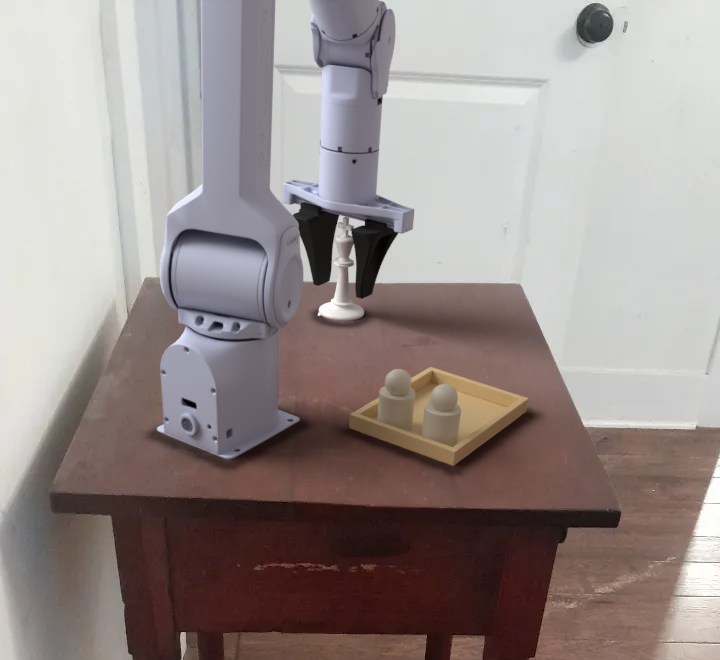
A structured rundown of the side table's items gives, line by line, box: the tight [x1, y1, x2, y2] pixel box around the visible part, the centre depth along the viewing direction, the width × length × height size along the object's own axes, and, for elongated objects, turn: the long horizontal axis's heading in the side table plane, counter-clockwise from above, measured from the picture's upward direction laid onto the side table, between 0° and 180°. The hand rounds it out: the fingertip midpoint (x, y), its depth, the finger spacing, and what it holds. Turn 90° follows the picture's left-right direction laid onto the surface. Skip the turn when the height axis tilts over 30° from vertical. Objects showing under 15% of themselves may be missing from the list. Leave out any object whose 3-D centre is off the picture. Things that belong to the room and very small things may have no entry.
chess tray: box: [348, 366, 530, 466], centre depth 85 cm, size 13×10×2 cm
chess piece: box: [317, 216, 365, 322], centre depth 101 cm, size 5×5×10 cm
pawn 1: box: [377, 368, 415, 432], centre depth 82 cm, size 3×3×5 cm
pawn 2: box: [421, 384, 461, 447], centre depth 80 cm, size 3×3×5 cm
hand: (342, 289), depth 103 cm, fingers open, 5 cm apart
